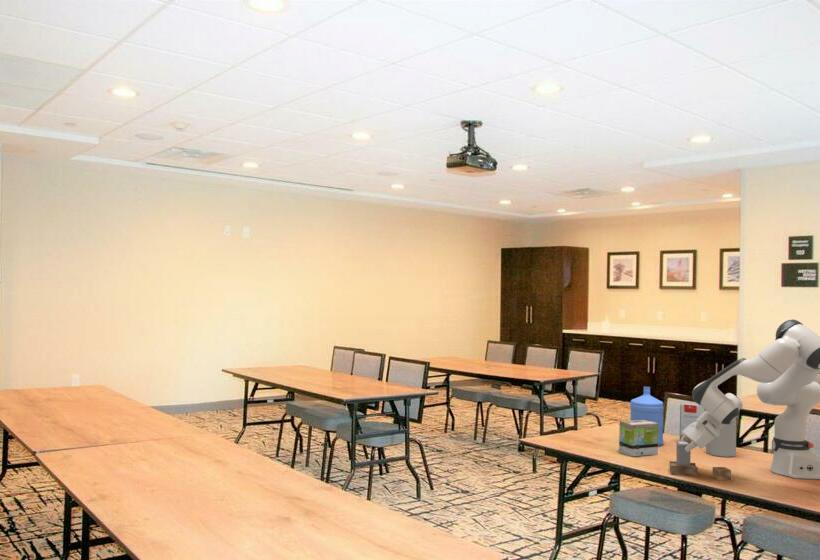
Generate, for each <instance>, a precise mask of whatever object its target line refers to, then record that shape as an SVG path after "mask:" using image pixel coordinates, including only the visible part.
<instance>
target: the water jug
mask: <svg viewBox="0 0 820 560" xmlns="http://www.w3.org/2000/svg"><path fill="white" fill-rule="evenodd" d="M629 405H630V406H629V407H630V409H629V410H630V420H629V421H632V420H647V421H651V422H655V423H658V424H659V429H658V447H661V446H663V445H664V402H663V401H662V400H659V399H658V398H656V397H654V396H652V395H651V386H643V394H642V395H640V396H638V397H635V398H632V399H631V400H630V404H629Z"/></svg>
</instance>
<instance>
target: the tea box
mask: <svg viewBox="0 0 820 560" xmlns="http://www.w3.org/2000/svg"><path fill="white" fill-rule="evenodd" d="M658 429H659V424H658V423H655V422H651V421H647V420H632V421H630V420H620V421H619V433H618V435H619V436H618V438H619V439H618V452H619V453H621V454H622V455H626V456H629V457H640V456H641V457H642V456H656V455H659V446H658Z"/></svg>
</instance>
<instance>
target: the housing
mask: <svg viewBox="0 0 820 560" xmlns="http://www.w3.org/2000/svg"><path fill="white" fill-rule="evenodd" d="M688 445H689V444H688V443H687V442H679V441H678V442H676V455H675V456H676V457H675V459H676V464H677V465H678V466H687V467H690V463H691V450H690V451H689V452H687V451H686V450H685V449H684V448H685V447H686V446H688Z"/></svg>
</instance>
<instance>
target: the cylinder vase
mask: <svg viewBox="0 0 820 560" xmlns="http://www.w3.org/2000/svg"><path fill="white" fill-rule="evenodd" d="M719 432H720V435H719V436H718V437H714V439H713V440H712V441H711V442H709V443H708V444H707V445H706V447H705V448H706V451H705V452H706V453H707V454H708V455H709V456H710V455H711V456H715V457H720V458H721V457H722V458H733V457H735V456H736V455H737V418H736V419H735V420H734V421H733V422H732V423H731V424H730V425H728V424H724V425H723V427H722V428H721V429H720V431H719Z"/></svg>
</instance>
